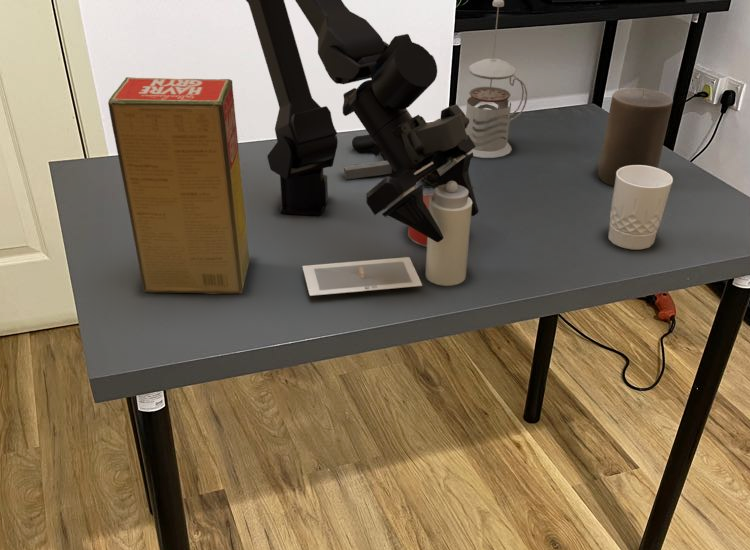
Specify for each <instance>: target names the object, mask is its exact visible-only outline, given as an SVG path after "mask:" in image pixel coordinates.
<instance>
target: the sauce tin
mask: <svg viewBox="0 0 750 550" xmlns="http://www.w3.org/2000/svg"><path fill="white" fill-rule="evenodd" d="M433 195H434V193H430V194H429V193H428V194H423V201H424V203H425V205H426V207H427V208H428V210H429V199H430V197H431V196H433ZM407 228H408V230H407V236H408V239H409V240H410V241H411V242H413V243H414V244H416V245H418V246H420V247H424V248H427V236H425V235H424V234H422V233H420V232H418V231H417V230H415V229H413V228H412V227H410V226H408V227H407Z"/></svg>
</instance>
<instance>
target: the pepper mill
mask: <svg viewBox="0 0 750 550" xmlns="http://www.w3.org/2000/svg"><path fill="white" fill-rule="evenodd" d="M433 194H434V195H433V196H431V197H430V199H429V212H430V213H431V215H432V217H433V218H434V220H435V222H436V223H437V225H438V227H439V229H440V231H441V233H442V235H443V237H444V238H443V239H442V240H441V241H440V242H435V241H434V240H432V239H430V238H429V237H427V247H426V253H425V272H424V273H425V274H424V275H425V278H426V280H427V281H429V282H430V283H433V284H435V285H438V286H443V287H444V286H445V287H450V286H456V285H459V284H462V283H463V282H464V281H465V280H466V278H467V269H468V258H469V257H468V256H469V246H470V237H471V236H470V234H471V225H472V224H471V223H472V216H471V213H472V200H471V198H469V197H468V194H469V192H468V190H467V189H466V188H465V187H463V186H460V185H458V184H457V183H456V182H455V181H449V182H448V183H447V184H444V185H440V186H439V185H438V186H436V187H435V188H434V191H433Z"/></svg>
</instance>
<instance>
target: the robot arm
mask: <svg viewBox="0 0 750 550" xmlns="http://www.w3.org/2000/svg"><path fill="white" fill-rule="evenodd" d="M294 1H295V2H296V4H297V6H298V7H299V9H300V10H301V12H302V14H303V16H304V17H305V18H306V20H307V22H308V23H309V24H310V26H311V27H312V29H313V30H314V33H315V35H316V37H317V54H318V57H319V59H320V61H321V63H322V65H323V67H324V69H325V72H326V73H327V76H328V77H329V79H330V80H331V81H332V82H334V83H335V84H336V85H338V84H339V85H346V84H351V83H355V82H359V81H363V82H362V83H360V84H359V86H358V87H353V88H351V89H350V90H348V91H346V92H344V93H343V95H342V96H343V104H342V115H343V116H345V117H347V116H349V115H351V114H352V113H354V114H355V115H356V117H357V118H358V120H359V122H360V123H361V124H362V126H363V128H364V129H365V130H366V132H367V133H368V135H370V136H371V138H372V139H373V141H374V142H375V144H376V146H375V147H374V148H372V149H371V150H370V151H371V152H372V153H373V154H374V156H375V157H377V156H378V155H381V154H380V153H382V154H383V155H384V157H385V158H386V160H387V161H388V163H389V164H390V166H391V167H392V169H393V170H394V172H393V173H392V174H387V176H385V177H384V178H383V179H382V180H381V181H379V182H378V183H377V184H376V185H375V186H373V187H372V188H371V189H370V190H368V191H367V192H366V194H365V196H366V199H365V201H366V205H367V206H368V208H369V209H370V211H371V212H372V214H373V215H374V216H377V215H378V214H379V213H382V212H383V211H384V210H385V211H384V212H383V213H382V216H383V217H384V218H387V217H390V218H391V219H394V220H396V221H398V222H399V223H402V224H404V225H406V226H408V227H409V226H410V227H412V228H413V229H415V230H417V231H418V232H420V233H422V234H424V235H425V236H427V237H429V238H430V239H432V240H434V241H435V242H440V241H441V240H442V239H443V238H444V237H443V235H442V233H441V231H440V229H439V227H438V225H437V223H436V222H435V220H434V218H433V217H432V215H431V213H430V212H429V210H428V208H427V207H426V205H425V203H424V201H423V195H424V186H423V184H421V185H419V186H418V187H416V188H415V186H416V185H417V183H418V182H420V181H421V180H424V179H423V178H424V177H426V176H428V175H429V174H431V173H432V174H434V175H436V176H437V175H438V174H439V175H440V177H438V178H437V179H436V180H435V182H436V183H437V185H438V186H440V185H444V184H447V183H448V182H449V181H455V182H456V183H457V184H458V185H460V186H463V187H465V188H466V189H467V190H468V192H469V194H468V197H469V198H471V200H472V213H471V217H475V216H476V215H478V214H479V211H480V210H479V207H478V204H477V201H476V200H477V199H476V197H475V194H474V189H473V186H472V182H471V177H470V172H469V169H470V165H471V160H472V158H473V157H474V156H473V152H472V153H471V154H469V155H468V154H467V153H468V152H470V151H471V150H472V149H474V148H475V147H476V146H475V145H474V143H473V142H472V140H471V138H470V137H469V135H467V134H466V131H465V129H466V128H467V126H468V124H469V119H468V118H467V117H466V113H465V112H463V110H462V109H461V108H460V106H459V105H458V104H454V105H453V104H452V105H450V106H447V107H445V108H444V109H442V110H441V111H440V118H437V119H435V120H434V121H433V120H432V121H430V122H426V120H425V118H424V117H423V116H421V115H420V114H417V115H415V116H412V115H411V113H410V112H409V110H408V109H407V108H409V107H410V106H411V105H413V104H414V103H415V102H416V100H418V98H419V97H420V96H421V95H423V94H424V92H425V91H427V90H428V88H429V87H430V86H431V85H432V84H433V83H434V82H435V81H436V79H437V77H438V65H437V61H436V59H435V57H434V55H433V54H430V52H429V51H428V50H427V49H426V48H425V47H424V46H422V45H421V44H419V43H416V42H414V41H412V39H411V36H410V35H409V34H408V33H405V34H399V35H395V36H394V37H393V38H392V39H391V40H390V42H389V43H387V42H386V41H384V40H383V38H382V36H381V35H380V34H379V33H378V31H377V30H376V29H375V28H374V27H373V25H371V23H370V22H369V21H368V20H367V19H366V18H364V17H362V16H360V15H359V14H356V13H354V12H352V11H351V10H350V9H349V8H348V7H347V6H346V5H345V4H344V1H343V0H294ZM245 2H247V3H248V6H249V9H250V13H251V16H252V20H253V23H254V27H255V30H256V33H257V36H258V40H259V43H260V46H261V47H260V48H261V50H262V55H263V57H264V60H265V64H266V67H267V71H268V72H269V77H270V80H271V83H272V87H273V90H274V94H275V97H276V100H277V103H278V108H279V109H278V112H277V117H276V122H275V125H274V132H275V137H276V141H277V142H276V143H275V145H274V146H273V147H272V148H271V150H270V151H269V152H268V154H267V161H268V165H269V169H270V171H272V172H273V173H275V174H276V175H278V176H279V181H280V197H281V205H280V208H279V213H280V214H284V215H285V214H288V215H305V216H307V215H308V216H322V214H323V212H324V208H326V206H327V204H328V200H329V191H328V190H329V189H328V187H329V186H328V176H327V175H326V174H324V169H325V168H332V167H333V166H334V162H335V158H336V153H337V148H338V142H339V140H338V136H337V134H338V132H337V130H336V127H335V125H334V122H333V118H332V112H331V110H330V109H329V107H328V106H326V105H325V106H321V105H320V104H319V103H318V102H316V100H315V99H313V96H312V93H311V89H310V87H309V86H310V85H309V82H308V79H307V75H306V72H305V69H304V65H303V62H302V58H301V54H300V51H299V47H298V45H297V40H296V38H295V34H294V30H293V27H292V23H291V20H290V15H289V13H288V9H287V6H286V2H285V0H245ZM424 165H426V166H424ZM414 170H415V171H416V172H413V171H414Z"/></svg>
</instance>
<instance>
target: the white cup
mask: <svg viewBox="0 0 750 550" xmlns="http://www.w3.org/2000/svg"><path fill="white" fill-rule="evenodd" d="M673 182H674V178H673V176H672V175H671V174H670V173H669V172H667V171H665V170H664V169H662V168H659V167H658V168H655V167H651V166H645V165H630V166H625V167H622V168H620V169H618V170H617V172H616V179H615V185H614V186H613V192H612V199H611V205H610V215H609V227H608V232H607V233H608V234H607V235H608V236H607V237H608V240H609V241H610V242H611V243H612V244H613V245H615V246H617V247H619V248H622V249H627V250H633V251H634V250H638V251H639V250H645V249H649V248H651V247H652V246H653V245H654V243H655V240H656V237H657V232H658V229H659V227H660V225H661V222H662V219H663V216H664V213H665V209H666V207H667V202H668V199H669V196H670V194H671V193H670V192H671V189H672V185H673Z"/></svg>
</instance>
